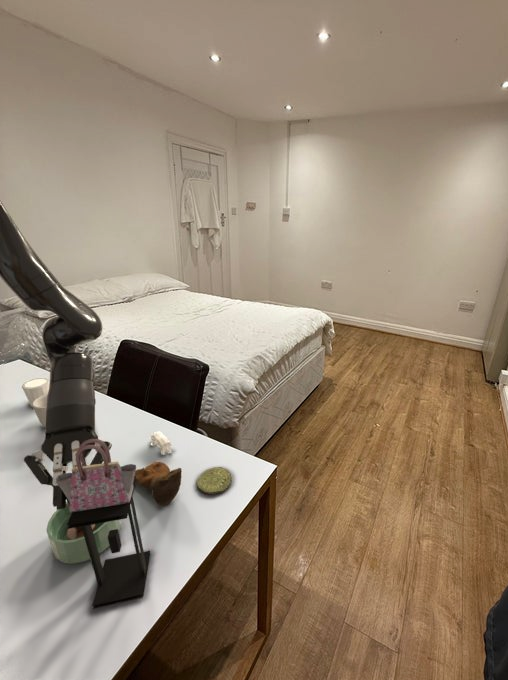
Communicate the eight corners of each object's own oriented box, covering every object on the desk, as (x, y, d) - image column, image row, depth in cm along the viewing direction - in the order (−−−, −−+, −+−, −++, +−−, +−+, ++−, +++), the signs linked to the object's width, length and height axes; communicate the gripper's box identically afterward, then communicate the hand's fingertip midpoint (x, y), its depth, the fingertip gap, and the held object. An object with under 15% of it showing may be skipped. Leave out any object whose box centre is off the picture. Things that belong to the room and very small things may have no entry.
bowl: (41, 569, 57) (33, 546, 55) (72, 514, 67) (65, 493, 65) (109, 561, 59) (103, 538, 56) (128, 509, 69) (124, 488, 66)
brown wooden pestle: (65, 552, 58) (45, 491, 53) (76, 530, 62) (59, 470, 57) (91, 549, 59) (74, 488, 54) (101, 527, 63) (86, 468, 58)
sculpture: (152, 475, 63) (135, 435, 74) (143, 520, 65) (127, 475, 76) (192, 468, 69) (170, 432, 80) (182, 510, 70) (162, 469, 81)
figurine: (164, 457, 83) (162, 443, 81) (148, 443, 88) (146, 429, 86) (172, 453, 85) (171, 438, 83) (157, 439, 89) (155, 425, 88)
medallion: (190, 488, 74) (190, 486, 74) (209, 465, 81) (209, 462, 81) (220, 499, 72) (220, 496, 72) (237, 474, 79) (237, 471, 79)
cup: (30, 421, 94) (22, 397, 91) (61, 408, 100) (55, 386, 97) (46, 435, 88) (38, 411, 85) (77, 421, 94) (72, 398, 92)
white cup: (27, 400, 103) (21, 381, 100) (53, 393, 107) (48, 375, 104) (28, 410, 98) (22, 390, 95) (55, 403, 102) (50, 384, 100)
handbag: (158, 551, 61) (136, 420, 50) (152, 594, 54) (125, 454, 43) (95, 564, 58) (57, 429, 47) (81, 611, 51) (33, 466, 40)
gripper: (17, 409, 55) (8, 521, 49) (108, 396, 60) (109, 497, 54) (35, 417, 62) (29, 516, 56) (116, 405, 67) (118, 495, 61)
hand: (69, 506), depth 55 cm, fingers closed on brown wooden pestle
